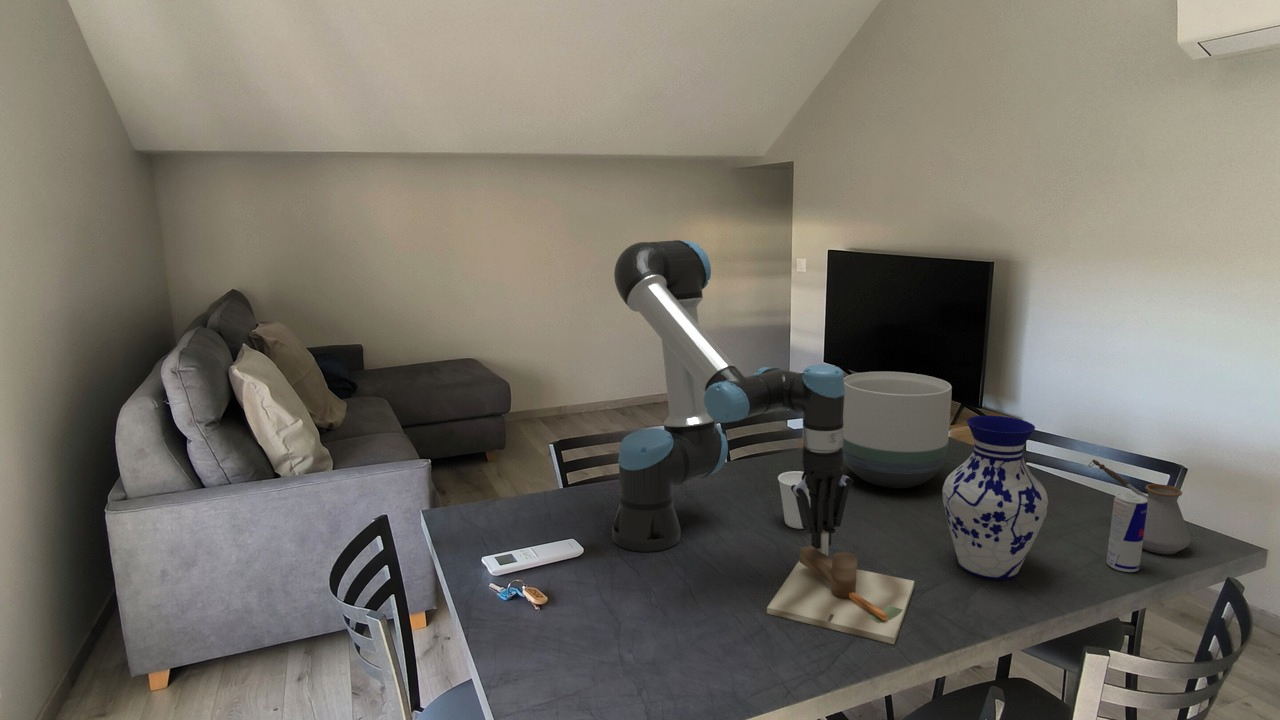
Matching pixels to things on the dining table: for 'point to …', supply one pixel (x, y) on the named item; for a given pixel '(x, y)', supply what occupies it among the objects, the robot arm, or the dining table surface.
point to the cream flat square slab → (844, 603)
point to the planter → (895, 427)
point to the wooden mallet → (838, 574)
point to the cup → (791, 498)
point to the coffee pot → (1159, 517)
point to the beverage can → (1127, 531)
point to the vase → (994, 500)
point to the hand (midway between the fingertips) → (821, 561)
